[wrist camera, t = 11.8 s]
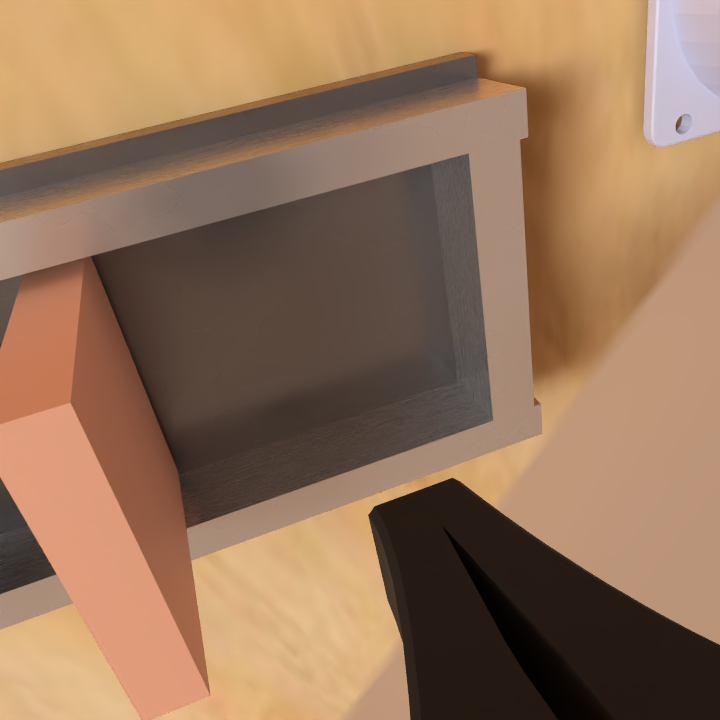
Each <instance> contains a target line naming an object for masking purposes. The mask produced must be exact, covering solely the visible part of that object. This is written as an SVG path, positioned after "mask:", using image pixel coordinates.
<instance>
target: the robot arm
mask: <svg viewBox="0 0 720 720" xmlns="http://www.w3.org/2000/svg"><path fill="white" fill-rule="evenodd" d="M680 116H681V117H682V121H681V125H680V126H679V128H678V129H677V130H676V128H675V126H676V122H677V120H678V119H679V117H680ZM643 132H644V138H645V140H646V141H647V143H649V144H651V145H653V146H657V147H667V146H671V145H674V144H678V143H681V142H685V141H688V140H692V139H695V138H699V137H702V136H706V135H709V134H713V133H716V132H720V0H648V22H647V48H646V75H645V102H644V128H643ZM368 516H369V520H370V524H371V529H372V533H373V537H374V542H375V546H376V551H377V555H378V559H379V564H380V568H381V572H382V577H383V581H384V586H385V590H386V594H387V599H388V602H389V604H390V607H391V610H392V612H393V615H394V618H395V620H396V623H397V626H398V629H399V632H400V635H401V638H402V641H403V646H404V655H405V665H406V674H407V684H408V694H409V705H410V719H411V720H720V645H719V644H717V643H715V642H713V641H710V640H708V639H707V638H705V637H703V636H701V635H699V634H697V633H695V632H692V631H691V630H689V629H687V628H685V627H683V626H681V625H679V624H678V623H676V622H674V621H672V620H670V619H668V618H666V617H665V616H663V615H661V614H659V613H657V612H655V611H654V610H652V609H650V608H648V607H646V606H645V605H643V604H641V603H640V602H638V601H636V600H634V599H633V598H631V597H629V596H628V595H626V594H624V593H623V592H621V591H619V590H617V589H616V588H614V587H612V586H611V585H609V584H607V583H606V582H604V581H602V580H601V579H599V578H598V577H595V576H594V575H593V574H591V573H589V572H588V571H586V570H585V569H583V568H582V567H580V566H579V565H577V564H575V563H574V562H572V561H571V560H569V559H568V558H566V557H565V556H563V555H562V554H560V553H559V552H557V551H556V550H554V549H553V548H551V547H549V546H548V545H546V544H545V543H543V542H542V541H540V540H539V539H538V538H536V537H535V536H533V535H532V534H530V533H529V532H527V531H526V530H525V529H523V528H522V527H520V526H519V525H518V524H516V523H515V522H513V521H512V520H510V519H509V518H508V517H506V516H505V515H504V514H502V513H501V512H500V511H498V510H497V509H495V508H494V507H493V506H491V505H490V504H489V503H487V502H486V501H485V500H483V499H482V498H481V497H479V496H478V495H477V494H475V493H474V492H473V491H472V490H470V489H469V488H468V487H466V486H465V485H464V484H462V483H461V482H460V481H458V480H456V479H454V478H451V479H448V480H446V481H443V482H440V483H437V484H435V485H432V486H429V487H426V488H424V489H421V490H418V491H416V492H413V493H410V494H407V495H405V496H402V497H399V498H397V499H394V500H391V501H388V502H386V503H383V504H380V505H377V506H375V507H374V508H373V510H372V511H371V512H370V514H369V515H368Z"/></svg>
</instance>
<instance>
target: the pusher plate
mask: <svg viewBox="0 0 720 720" xmlns="http://www.w3.org/2000/svg"><path fill="white" fill-rule="evenodd" d="M0 478H1V479H2V481H3V483H4V484H5V486H6V488H7V490H8V491H9V493H10V495H11V496H12V498H13V500H14V502H15V503H16V505H17V507H18V508H19V510H20V512H21V514H22V515H23V517H24V519H25V521H26V522H27V524H28V526H29V527H30V529H31V531H32V533H33V534H34V536H35V538H36V539H37V541H38V543H39V545H40V546H41V548H42V550H43V551H44V553H45V555H46V557H47V558H48V560H49V562H50V564H51V565H52V567H53V569H54V570H55V572H56V574H57V576H58V577H59V579H60V581H61V582H62V584H63V586H64V588H65V589H66V591H67V593H68V594H69V596H70V598H71V600H72V601H73V603H74V605H75V607H76V608H77V610H78V612H79V613H80V615H81V617H82V619H83V620H84V622H85V624H86V625H87V627H88V629H89V631H90V632H91V634H92V636H93V637H94V639H95V641H96V643H97V644H98V646H99V648H100V650H101V651H102V653H103V655H104V656H105V658H106V660H107V662H108V663H109V665H110V667H111V668H112V670H113V672H114V674H115V675H116V677H117V679H118V680H119V682H120V684H121V686H122V687H123V689H124V691H125V693H126V694H127V696H128V698H129V699H130V701H131V703H132V705H133V706H134V708H135V710H136V711H137V713H138V715H139V717H140V718H141V720H151V719H154V718H156V717H159V716H161V715H164V714H166V713H169V712H171V711H174V710H176V709H179V708H181V707H184V706H186V705H189V704H191V703H194V702H196V701H199V700H201V699H204V698H206V697H209V696H210V690H209V683H208V676H207V669H206V662H205V655H204V648H203V641H202V634H201V627H200V620H199V613H198V606H197V599H196V592H195V585H194V578H193V571H192V564H191V557H190V550H189V543H188V536H187V529H186V522H185V515H184V508H183V501H182V494H181V487H180V480H179V474H178V470H177V468H176V465H175V463H174V460H173V458H172V455H171V453H170V450H169V448H168V445H167V443H166V440H165V438H164V436H163V433H162V431H161V428H160V426H159V423H158V421H157V418H156V416H155V413H154V411H153V408H152V406H151V403H150V401H149V398H148V396H147V394H146V391H145V389H144V386H143V384H142V381H141V379H140V376H139V374H138V371H137V369H136V366H135V364H134V361H133V359H132V356H131V354H130V351H129V349H128V347H127V344H126V342H125V339H124V337H123V334H122V332H121V329H120V327H119V324H118V322H117V319H116V317H115V314H114V312H113V309H112V307H111V305H110V302H109V300H108V297H107V295H106V292H105V290H104V287H103V285H102V282H101V280H100V277H99V275H98V272H97V270H96V267H95V265H94V262H93V260H92V258H91V256H89V257H85V258H81V259H78V260H74V261H70V262H67V263H63V264H59V265H56V266H52V267H48V268H45V269H41V270H37V271H34V272H30V273H26V274H24V275H23V278H22V281H21V284H20V288H19V291H18V294H17V297H16V300H15V304H14V307H13V310H12V313H11V316H10V320H9V323H8V326H7V329H6V332H5V336H4V339H3V342H2V345H1V348H0Z"/></svg>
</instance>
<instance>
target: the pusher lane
mask: <svg viewBox="0 0 720 720" xmlns="http://www.w3.org/2000/svg"><path fill="white" fill-rule="evenodd" d="M527 137H528V117H527V96H526V88H524V87H519V86H515V85H510V84H505V83H501V82H496V81H492V80H487V79H482V78H478V74H477V62H476V54H470V53H463V52H459V53H455V54H451V55H447V56H443V57H438V58H434V59H430V60H426V61H422V62H418V63H414V64H409V65H405V66H401V67H397V68H393V69H389V70H385V71H380V72H376V73H372V74H368V75H364V76H360V77H356V78H351V79H347V80H343V81H339V82H335V83H331V84H327V85H322V86H318V87H314V88H310V89H306V90H302V91H298V92H293V93H289V94H285V95H281V96H277V97H273V98H269V99H264V100H260V101H256V102H252V103H248V104H244V105H240V106H235V107H231V108H227V109H223V110H219V111H215V112H211V113H206V114H202V115H198V116H194V117H190V118H186V119H182V120H177V121H173V122H169V123H165V124H161V125H157V126H153V127H148V128H144V129H140V130H136V131H132V132H128V133H124V134H119V135H115V136H111V137H107V138H103V139H99V140H95V141H90V142H86V143H82V144H78V145H74V146H70V147H66V148H61V149H57V150H53V151H49V152H45V153H41V154H37V155H32V156H28V157H24V158H20V159H16V160H12V161H8V162H3V163H0V348H1V345H2V342H3V339H4V336H5V332H6V329H7V326H8V323H9V320H10V316H11V313H12V310H13V307H14V304H15V300H16V297H17V294H18V291H19V288H20V284H21V281H22V278H23V275H24V274H26V273H30V272H34V271H37V270H41V269H45V268H48V267H52V266H56V265H59V264H63V263H67V262H70V261H74V260H78V259H81V258H85V257H89V256H91V258H92V260H93V262H94V265H95V267H96V270H97V272H98V275H99V277H100V280H101V282H102V285H103V287H104V290H105V292H106V295H107V297H108V300H109V302H110V305H111V307H112V309H113V312H114V314H115V317H116V319H117V322H118V324H119V327H120V329H121V332H122V334H123V337H124V339H125V342H126V344H127V347H128V349H129V351H130V354H131V356H132V359H133V361H134V364H135V366H136V369H137V371H138V374H139V376H140V379H141V381H142V384H143V386H144V389H145V391H146V394H147V396H148V398H149V401H150V403H151V406H152V408H153V411H154V413H155V416H156V418H157V421H158V423H159V426H160V428H161V431H162V433H163V436H164V438H165V440H166V443H167V445H168V448H169V450H170V453H171V455H172V458H173V460H174V463H175V465H176V468H177V470H178V474H179V480H180V487H181V494H182V501H183V508H184V515H185V522H186V529H187V536H188V543H189V550H190V557H191V560H194V559H197V558H199V557H202V556H205V555H208V554H211V553H213V552H216V551H219V550H222V549H224V548H227V547H230V546H233V545H235V544H238V543H241V542H244V541H246V540H249V539H252V538H255V537H258V536H260V535H263V534H266V533H269V532H271V531H274V530H277V529H280V528H282V527H285V526H288V525H291V524H294V523H296V522H299V521H302V520H305V519H307V518H310V517H313V516H316V515H318V514H321V513H324V512H327V511H330V510H332V509H335V508H338V507H341V506H343V505H346V504H349V503H352V502H354V501H357V500H360V499H363V498H365V497H368V496H371V495H374V494H377V493H379V492H382V491H385V490H388V489H390V488H393V487H396V486H399V485H401V484H404V483H407V482H410V481H413V480H415V479H418V478H421V477H424V476H426V475H429V474H432V473H435V472H437V471H440V470H443V469H446V468H449V467H451V466H454V465H457V464H460V463H462V462H465V461H468V460H471V459H473V458H476V457H479V456H482V455H485V454H487V453H490V452H493V451H496V450H498V449H501V448H504V447H507V446H509V445H512V444H515V443H518V442H520V441H523V440H526V439H529V438H532V437H534V436H537V435H540V434H542V416H541V403H539V402H538V401H537V400H536V399H535V398H534V393H533V374H532V356H531V337H530V318H529V299H528V280H527V261H526V243H525V224H524V205H523V186H522V167H521V148H520V139H523V138H527ZM72 603H73V601H72V600H71V598H70V596H69V594H68V593H67V591H66V589H65V588H64V586H63V584H62V582H61V581H60V579H59V577H58V576H57V574H56V572H55V570H54V569H53V567H52V565H51V564H50V562H49V560H48V558H47V557H46V555H45V553H44V551H43V550H42V548H41V546H40V545H39V543H38V541H37V539H36V538H35V536H34V534H33V533H32V531H31V529H30V527H29V526H28V524H27V522H26V521H25V519H24V517H23V515H22V514H21V512H20V510H19V508H18V507H17V505H16V503H15V502H14V500H13V498H12V496H11V495H10V493H9V491H8V490H7V488H6V486H5V484H4V483H3V481H2V479H1V478H0V629H3V628H6V627H8V626H11V625H14V624H17V623H20V622H22V621H25V620H28V619H31V618H33V617H36V616H39V615H42V614H44V613H47V612H50V611H53V610H56V609H58V608H61V607H64V606H67V605H69V604H72Z"/></svg>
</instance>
